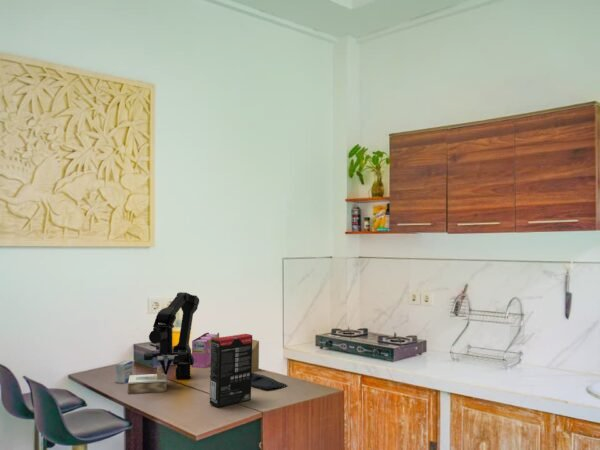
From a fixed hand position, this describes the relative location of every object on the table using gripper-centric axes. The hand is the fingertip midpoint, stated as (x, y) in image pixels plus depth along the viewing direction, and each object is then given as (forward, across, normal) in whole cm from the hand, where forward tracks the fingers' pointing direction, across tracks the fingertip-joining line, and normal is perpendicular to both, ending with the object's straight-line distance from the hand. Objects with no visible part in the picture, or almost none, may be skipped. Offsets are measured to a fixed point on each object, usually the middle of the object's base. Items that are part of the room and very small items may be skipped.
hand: (165, 374), depth 261 cm
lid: (+2, +8, 0) cm, 8 cm away
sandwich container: (+6, -37, -21) cm, 43 cm away
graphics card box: (+6, -26, +27) cm, 38 cm away
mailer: (+6, +8, 0) cm, 10 cm away
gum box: (+6, -21, -44) cm, 49 cm away
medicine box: (+6, +19, -16) cm, 25 cm away
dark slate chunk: (+7, -43, +3) cm, 44 cm away
